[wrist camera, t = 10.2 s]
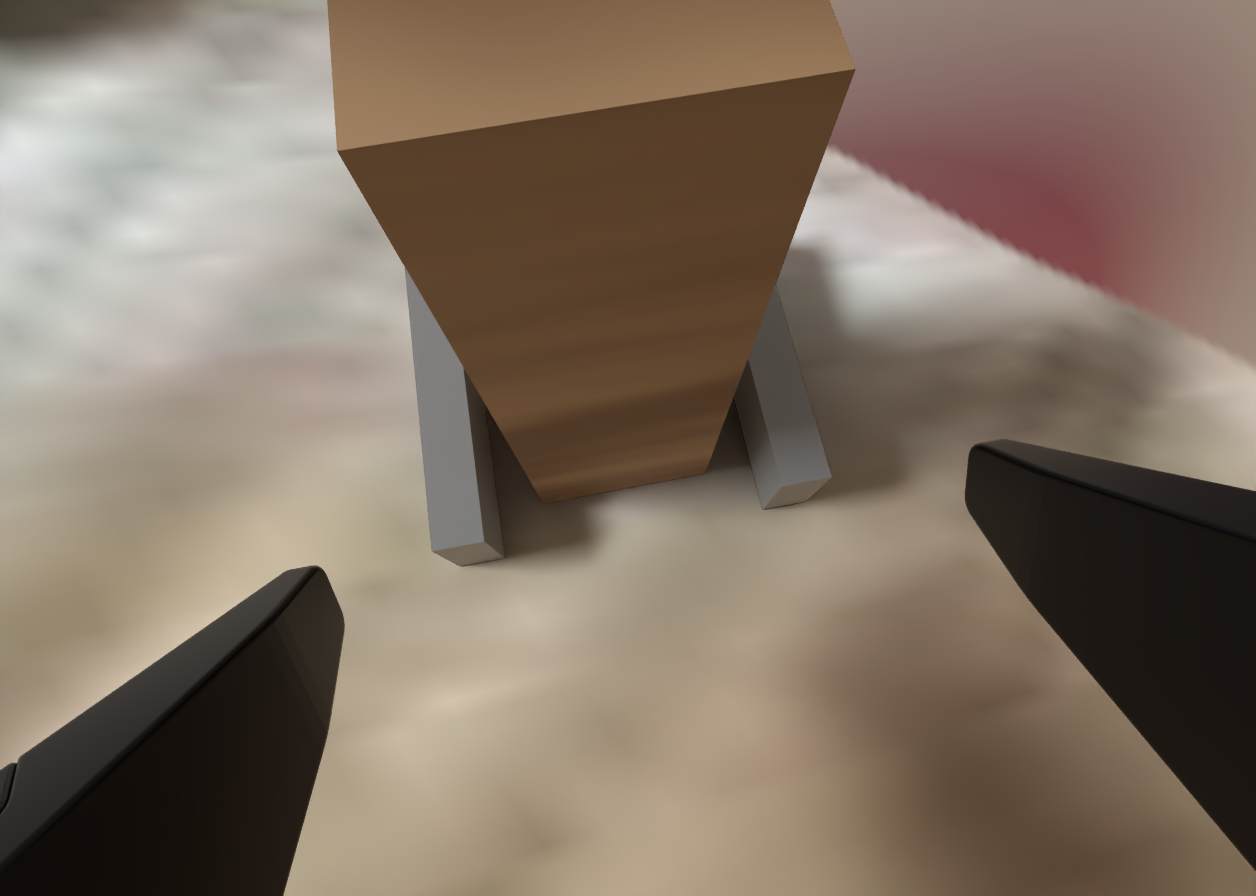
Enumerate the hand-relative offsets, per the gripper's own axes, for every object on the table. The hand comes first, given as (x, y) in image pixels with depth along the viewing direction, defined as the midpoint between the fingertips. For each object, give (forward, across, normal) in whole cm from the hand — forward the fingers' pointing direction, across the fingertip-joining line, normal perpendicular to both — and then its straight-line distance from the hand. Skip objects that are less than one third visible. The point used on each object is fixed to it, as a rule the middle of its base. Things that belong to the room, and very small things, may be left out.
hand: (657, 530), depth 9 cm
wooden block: (+10, 0, +2) cm, 10 cm away
